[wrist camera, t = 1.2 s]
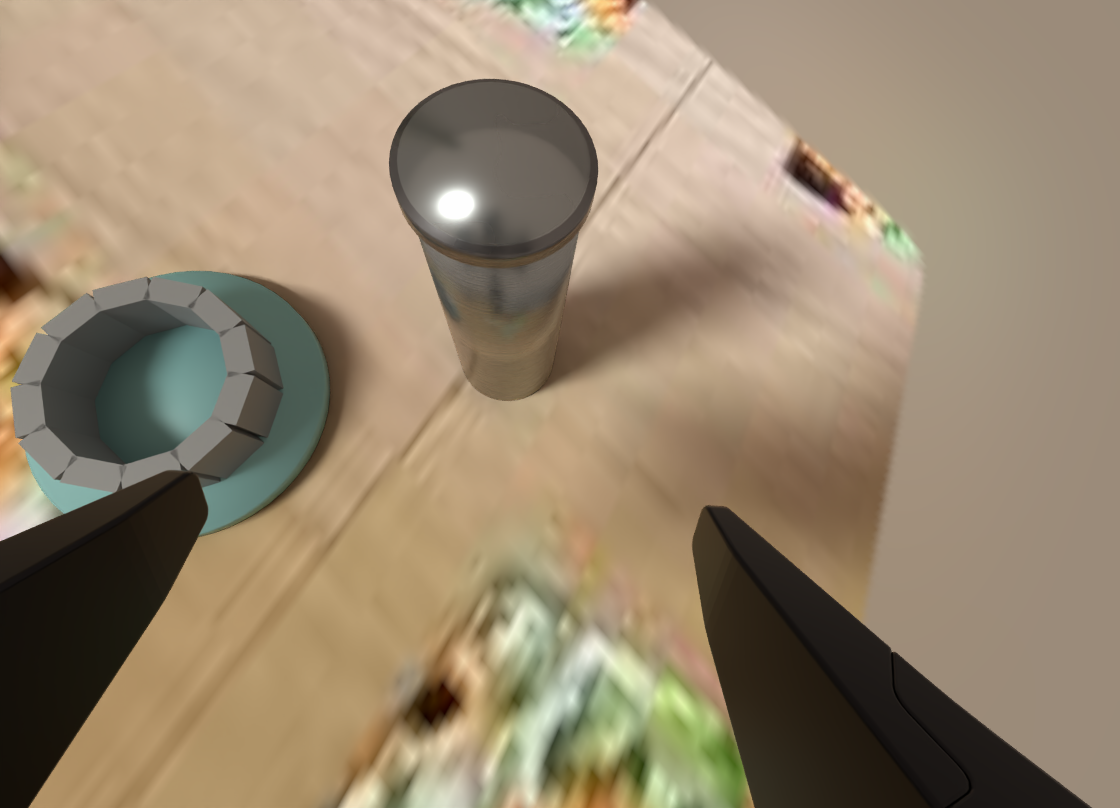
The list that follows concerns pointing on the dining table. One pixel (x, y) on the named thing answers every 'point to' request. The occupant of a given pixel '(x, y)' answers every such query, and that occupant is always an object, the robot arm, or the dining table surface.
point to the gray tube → (497, 220)
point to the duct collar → (173, 393)
